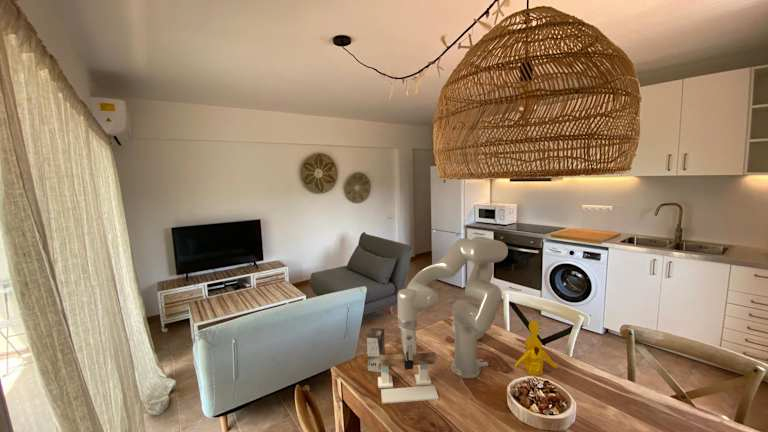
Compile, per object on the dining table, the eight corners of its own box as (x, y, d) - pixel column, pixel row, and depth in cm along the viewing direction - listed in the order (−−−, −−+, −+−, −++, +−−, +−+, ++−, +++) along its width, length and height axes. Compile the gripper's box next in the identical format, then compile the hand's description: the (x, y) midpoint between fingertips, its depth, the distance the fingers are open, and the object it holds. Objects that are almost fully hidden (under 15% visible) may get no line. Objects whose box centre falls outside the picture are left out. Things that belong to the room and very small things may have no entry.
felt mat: (434, 386, 127) (434, 385, 127) (438, 399, 120) (438, 398, 120) (381, 390, 126) (381, 389, 126) (382, 403, 119) (381, 402, 119)
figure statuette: (515, 376, 132) (517, 328, 129) (510, 364, 140) (511, 318, 137) (559, 377, 131) (562, 329, 127) (551, 365, 138) (554, 319, 135)
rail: (434, 359, 123) (434, 352, 123) (436, 363, 120) (436, 356, 120) (380, 362, 122) (380, 355, 121) (380, 367, 119) (380, 359, 118)
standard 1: (391, 377, 134) (391, 356, 132) (392, 387, 128) (392, 365, 126) (377, 378, 133) (377, 357, 132) (378, 388, 127) (377, 366, 126)
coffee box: (381, 372, 137) (380, 338, 135) (367, 371, 139) (366, 337, 136) (385, 360, 146) (384, 328, 144) (372, 358, 147) (371, 327, 145)
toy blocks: (428, 375, 135) (428, 353, 133) (431, 384, 129) (431, 362, 127) (414, 376, 134) (414, 354, 133) (417, 385, 128) (416, 363, 127)
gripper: (421, 332, 111) (421, 379, 113) (414, 311, 127) (414, 353, 130) (400, 333, 110) (401, 380, 113) (395, 312, 126) (396, 354, 129)
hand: (408, 365), depth 121 cm, fingers closed on rail, 3 cm apart
